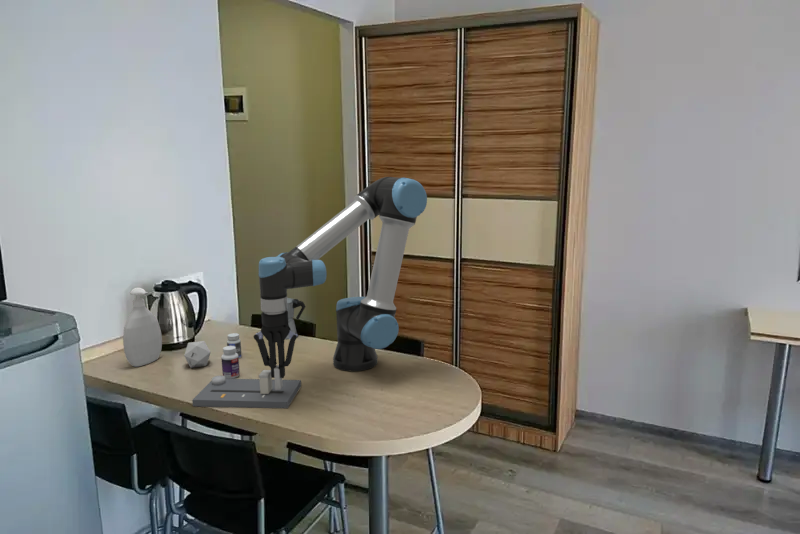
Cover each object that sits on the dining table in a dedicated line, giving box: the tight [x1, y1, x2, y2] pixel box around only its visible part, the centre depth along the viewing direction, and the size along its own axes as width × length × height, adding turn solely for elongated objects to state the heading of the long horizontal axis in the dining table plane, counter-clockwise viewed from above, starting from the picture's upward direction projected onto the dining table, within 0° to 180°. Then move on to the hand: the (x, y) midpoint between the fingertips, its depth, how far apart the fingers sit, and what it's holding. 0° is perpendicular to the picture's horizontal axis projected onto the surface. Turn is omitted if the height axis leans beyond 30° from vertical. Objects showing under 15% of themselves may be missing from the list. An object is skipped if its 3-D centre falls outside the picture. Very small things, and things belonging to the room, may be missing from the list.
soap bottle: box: [122, 287, 163, 368], centre depth 204 cm, size 14×8×27 cm, turn 151°
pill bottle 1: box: [226, 332, 242, 359], centre depth 211 cm, size 5×5×8 cm
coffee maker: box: [284, 297, 306, 341], centre depth 232 cm, size 15×9×18 cm, turn 80°
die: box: [183, 340, 211, 369], centre depth 204 cm, size 8×9×10 cm
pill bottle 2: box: [220, 345, 240, 379], centre depth 193 cm, size 5×5×10 cm
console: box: [191, 375, 302, 409], centre depth 179 cm, size 28×16×4 cm, turn 85°
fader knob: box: [258, 369, 273, 394], centre depth 176 cm, size 3×4×6 cm, turn 175°
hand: (278, 387), depth 176 cm, fingers closed
